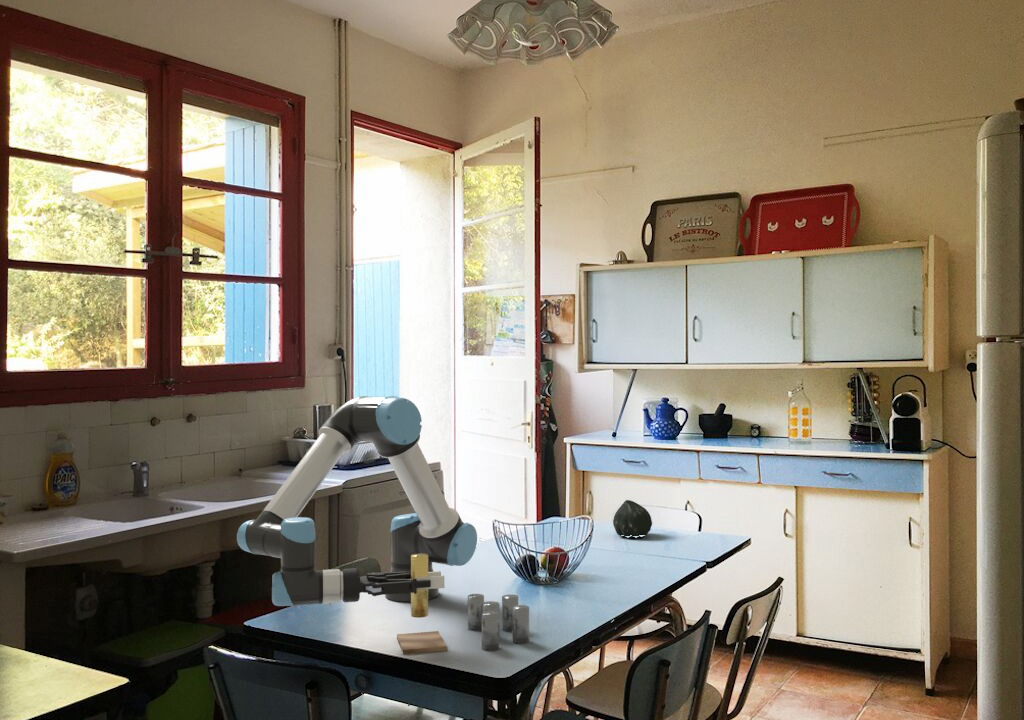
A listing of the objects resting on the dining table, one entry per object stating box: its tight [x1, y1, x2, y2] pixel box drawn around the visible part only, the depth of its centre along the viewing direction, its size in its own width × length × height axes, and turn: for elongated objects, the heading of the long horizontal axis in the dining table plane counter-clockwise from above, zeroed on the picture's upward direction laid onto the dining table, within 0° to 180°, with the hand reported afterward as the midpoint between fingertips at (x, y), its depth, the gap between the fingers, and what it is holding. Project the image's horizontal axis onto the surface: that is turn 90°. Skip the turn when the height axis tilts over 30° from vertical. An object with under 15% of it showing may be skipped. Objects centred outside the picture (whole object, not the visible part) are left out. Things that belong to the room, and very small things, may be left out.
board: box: [396, 630, 448, 655], centre depth 204 cm, size 12×10×1 cm
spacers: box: [467, 593, 530, 652], centre depth 210 cm, size 20×12×8 cm, turn 14°
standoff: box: [410, 554, 429, 619], centre depth 205 cm, size 4×4×14 cm
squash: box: [612, 499, 653, 536], centre depth 333 cm, size 14×15×15 cm
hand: (442, 579), depth 206 cm, fingers closed on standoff, 4 cm apart
